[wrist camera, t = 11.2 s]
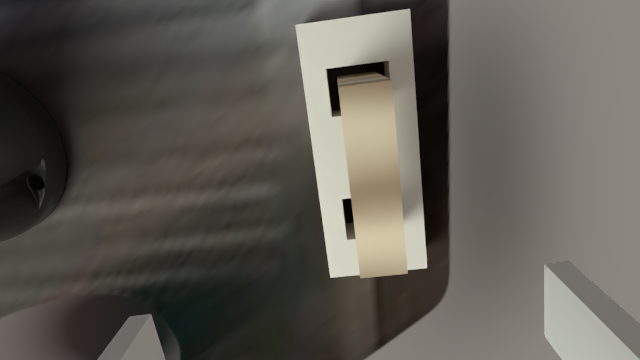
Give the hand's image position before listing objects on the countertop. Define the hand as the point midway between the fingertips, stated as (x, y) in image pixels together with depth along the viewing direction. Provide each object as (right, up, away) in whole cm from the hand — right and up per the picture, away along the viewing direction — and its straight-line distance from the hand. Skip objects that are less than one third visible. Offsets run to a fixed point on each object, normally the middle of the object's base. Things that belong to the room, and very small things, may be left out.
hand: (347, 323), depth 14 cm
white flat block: (+3, +8, +22) cm, 23 cm away
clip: (+3, +8, +22) cm, 23 cm away
